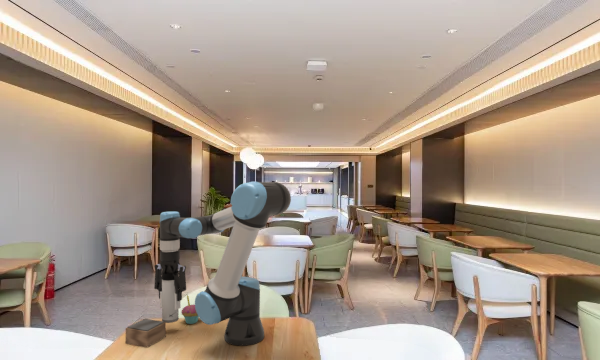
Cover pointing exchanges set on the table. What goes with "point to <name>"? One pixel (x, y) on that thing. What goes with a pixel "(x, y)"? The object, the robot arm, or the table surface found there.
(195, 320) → the cupcake
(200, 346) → the table surface
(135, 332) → the walnut stand
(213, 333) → the table surface
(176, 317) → the travel mug
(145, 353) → the table surface
